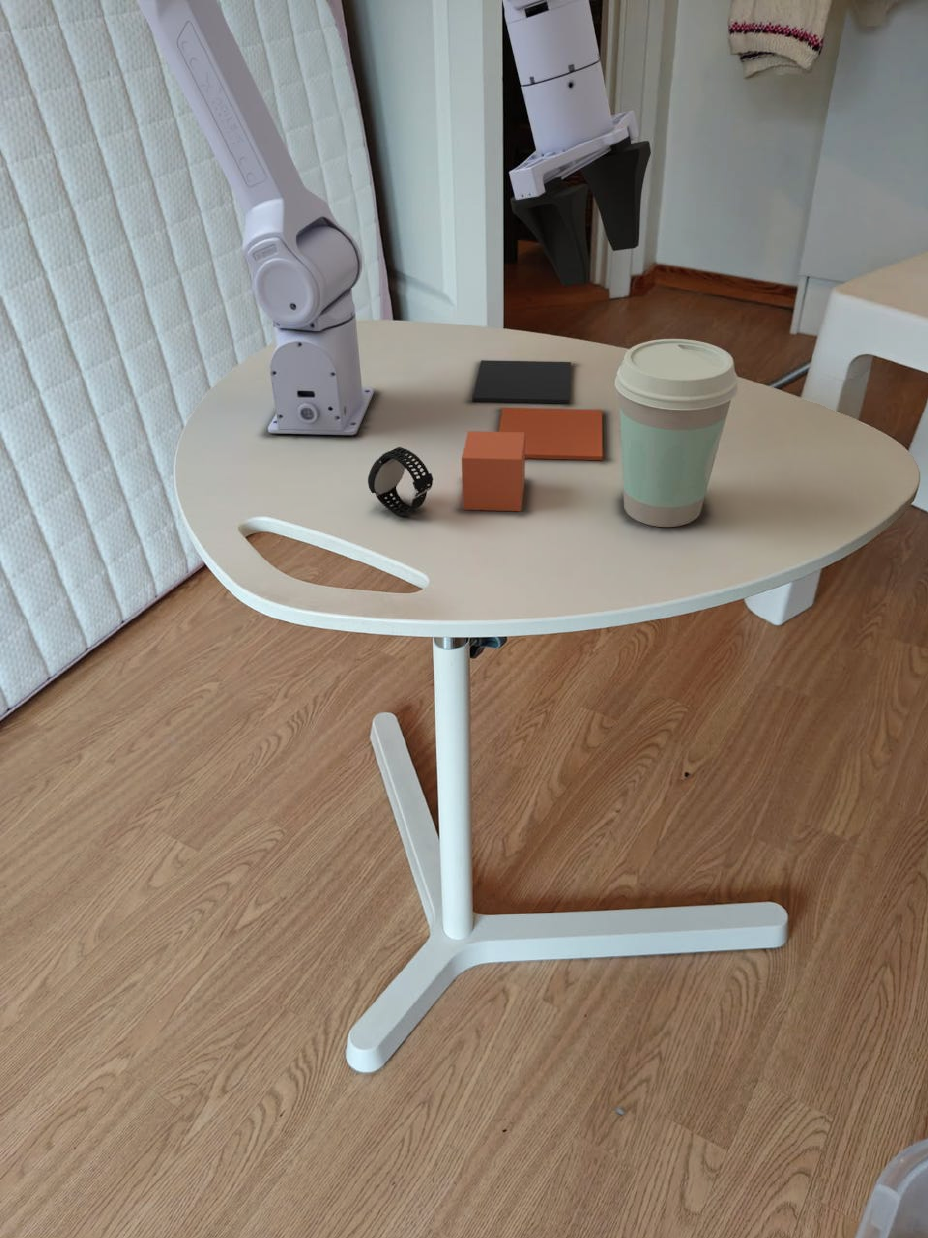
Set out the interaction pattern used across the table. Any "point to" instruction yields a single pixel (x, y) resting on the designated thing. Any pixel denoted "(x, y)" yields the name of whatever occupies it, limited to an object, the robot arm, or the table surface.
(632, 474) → the coffee cup
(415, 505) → the smartwatch
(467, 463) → the terracotta block
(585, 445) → the terracotta mat
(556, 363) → the dark mat
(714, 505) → the table surface
